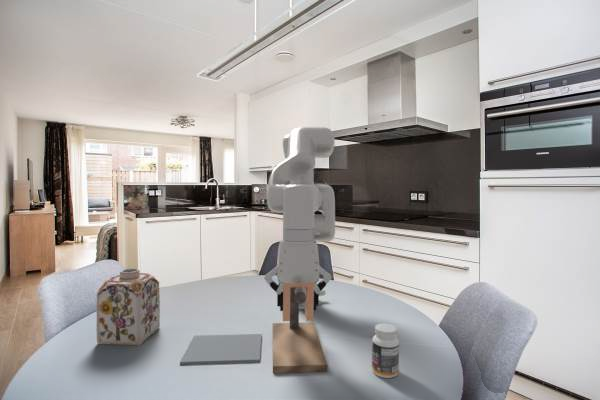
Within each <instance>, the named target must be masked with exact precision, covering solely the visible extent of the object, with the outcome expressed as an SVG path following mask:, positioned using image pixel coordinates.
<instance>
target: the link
mask: <svg viewBox="0 0 600 400" xmlns="http://www.w3.org/2000/svg"><path fill="white" fill-rule="evenodd" d="M290 287H305V295H306V301H305V309H304V316H305V321H306V322H313V321H314V311H315V310H314V282H313V283H284V284H283V310H282V311H281V312H282V313H281V315H282V322H290Z"/></svg>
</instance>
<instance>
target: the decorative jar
mask: <svg viewBox="0 0 600 400" xmlns="http://www.w3.org/2000/svg"><path fill="white" fill-rule="evenodd" d="M160 302H161V301H160V281H159V280H158V279H157V278H156V277H155V276H153V275H152V274H150V273H147V272H141V271H140V269H139V268H135V267H134V268H124V269H121V270H120V271H119V274H118V275H114V276H111V277H109V278H107V279H106V280H104V282H103V284H102V285H101V287H99V289H98V291H97V293H96V343H97V344H98V345H116V346H120V345H121V346H122V345H123V346H140V345H142V344H143V343H144V342H145V341H146V340H147V339H148V338H150V337H151V336H152V335H153V334H154V333H155V332H156V331H157V330H158V329H160V327H161V325H160V324H161V323H160V322H161V320H160V318H161V309H160V308H161V304H160Z"/></svg>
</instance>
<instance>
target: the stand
mask: <svg viewBox="0 0 600 400" xmlns="http://www.w3.org/2000/svg"><path fill="white" fill-rule="evenodd" d="M305 301H306V295H305V293H304V292H303V289H302V287H290V321H289V322H273V323H272V374H285V373H286V374H287V373H288V374H289V373H311V372H312V373H315V372H328V362H327V359H326V356H325V353H324V350H323V346H322V344H321V341H320V337H319V335H318V331H317V328H316V325H315V322H313V321H306V322H300V317H299V316H300V315H299V314H300V313H299V312H300V309H299V304H302V303H304V302H305Z"/></svg>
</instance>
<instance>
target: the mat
mask: <svg viewBox="0 0 600 400" xmlns="http://www.w3.org/2000/svg"><path fill="white" fill-rule="evenodd" d="M261 346H262V333H252V334H251V333H249V334H247V333H246V334H213V335H212V334H207V335H203V334H202V335H193V336H192V339H191V341H190V343H189V344H188V346H187V348H186V349H185V352H184V353H183V355H182V358H181V359H180V361H179V365H203V364H204V365H211V364H213V365H214V364H234V363H235V364H236V363H237V364H240V363H241V364H242V363H244V364H245V363H260V360H261Z"/></svg>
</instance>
